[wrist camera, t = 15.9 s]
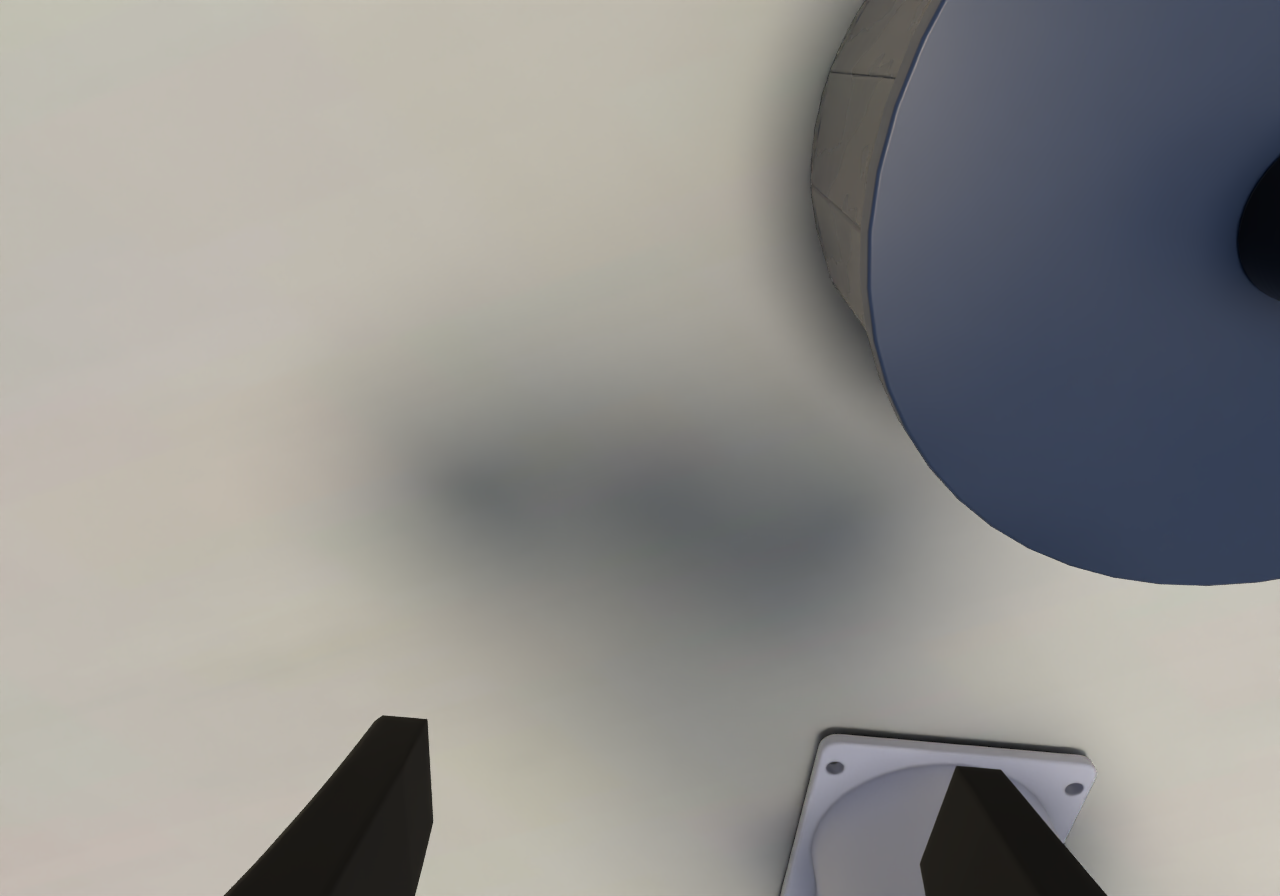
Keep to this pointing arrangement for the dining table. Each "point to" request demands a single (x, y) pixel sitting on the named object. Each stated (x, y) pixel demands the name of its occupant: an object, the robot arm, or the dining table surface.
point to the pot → (855, 132)
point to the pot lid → (1089, 276)
